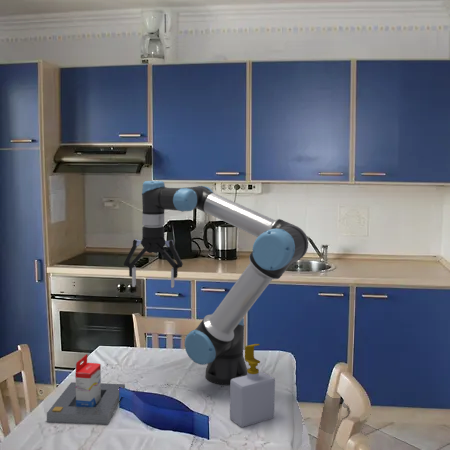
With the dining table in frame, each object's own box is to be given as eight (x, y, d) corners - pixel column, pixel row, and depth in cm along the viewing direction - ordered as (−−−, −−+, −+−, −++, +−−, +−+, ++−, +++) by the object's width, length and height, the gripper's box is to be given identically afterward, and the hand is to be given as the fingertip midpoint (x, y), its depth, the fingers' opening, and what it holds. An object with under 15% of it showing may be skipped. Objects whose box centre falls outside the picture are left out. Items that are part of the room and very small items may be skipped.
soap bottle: (241, 428, 159) (242, 350, 156) (228, 419, 164) (230, 343, 161) (274, 418, 165) (276, 343, 162) (261, 409, 171) (263, 337, 168)
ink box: (90, 410, 166) (90, 364, 164) (75, 409, 167) (74, 363, 165) (101, 398, 174) (101, 354, 173) (86, 397, 175) (86, 353, 173)
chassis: (124, 392, 181) (124, 383, 181) (107, 424, 160) (107, 414, 159) (71, 390, 182) (71, 381, 182) (46, 422, 160) (46, 412, 160)
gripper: (190, 225, 191) (190, 284, 194) (120, 223, 192) (120, 282, 195) (188, 228, 184) (187, 289, 187) (114, 226, 185) (115, 287, 188)
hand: (153, 286), depth 191 cm, fingers open, 13 cm apart
